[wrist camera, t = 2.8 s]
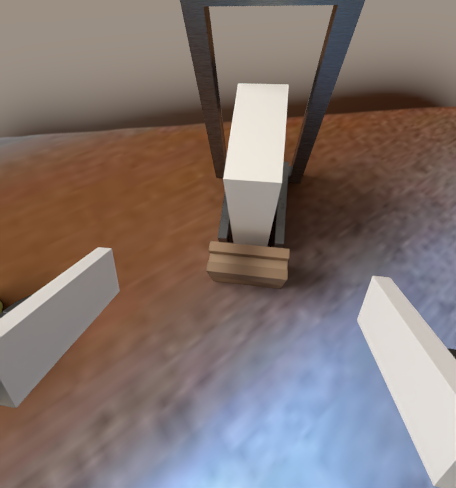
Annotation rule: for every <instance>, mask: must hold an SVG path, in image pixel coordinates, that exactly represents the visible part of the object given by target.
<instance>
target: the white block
mask: <svg viewBox="0 0 456 488" xmlns="http://www.w3.org/2000/svg"><path fill="white" fill-rule="evenodd" d="M288 87H289V85H286V84H285V85H284V84H244V83H243V84H242V83H239V84H238V88H237V94H236V101H235V107H234V114H233V120H232V126H231V132H230V139H229V145H228V151H227V158H226V164H225V170H224V177H223V181H224V187H225V193H226V200H227V206H228V212H229V218H230V224H231V230H232V237H233V243H234V244H244V245H255V246H265V247H267V245H268V241H269V237H270V232H271V228H272V224H273V219H274V215H275V211H276V206H277V202H278V198H279V193H280V189H281V185H282V174H283V160H284V145H285V131H286V116H287V102H288Z"/></svg>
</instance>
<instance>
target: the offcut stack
mask: <svg viewBox="0 0 456 488" xmlns="http://www.w3.org/2000/svg"><path fill="white" fill-rule="evenodd" d="M209 252H210V257H209V261H208V264H207V270H206V271H207V272H208V274H209V275H210V277H211V278H212V280H213V281H218V282H227V283H235V284H244V285H252V286H261V287H270V288H278V289H280V288H281V287H282V286H283V285H284V283H285V282H286V281H287V276H288V270H287V263H288V260H289V252H290V249H285V248H275V247H265V246H255V245H244V244H234V243H224V242H214V241H210V246H209Z"/></svg>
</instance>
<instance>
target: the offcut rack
mask: <svg viewBox="0 0 456 488" xmlns="http://www.w3.org/2000/svg"><path fill="white" fill-rule="evenodd" d="M364 1H365V0H180V2H181V7H182V12H183V17H184V22H185V27H186V31H187V37H188V41H189V46H190V51H191V56H192V61H193V66H194V71H195V76H196V81H197V85H198V90H199V95H200V100H201V105H202V110H203V115H204V119H205V125H206V129H207V134H208V139H209V144H210V149H211V154H212V159H213V164H214V169H215V173H216V178H223V177H224V170H225V164H226V158H227V154H226V146H225V138H224V129H223V121H222V113H221V105H220V96H219V88H218V79H217V71H216V63H215V56H214V55H215V54H214V46H213V38H212V30H211V21H210V13H209V6H280V5H334V6H333V10H332V14H331V17H330V21H329V25H328V29H327V33H326V36H325V40H324V44H323V48H322V51H321V55H320V59H319V63H318V67H317V70H316V74H315V78H314V82H313V86H312V89H311V93H310V97H309V101H308V104H307V108H306V112H305V116H304V119H303V123H302V127H301V131H300V135H299V138H298V142H297V146H296V150H295V154H294V157H293V161H292V165H291V166H289V162H283V174H282V185H281V189H280V193H279V198H278V202H277V206H276V211H275V223H274V236H273V247H275V248H282V247H283V245H284V234H285V217H286V201H287V184H288V182H289V183H300V182H301V179H302V176H303V174H304V171H305V168H306V165H307V162H308V159H309V157H310V154H311V151H312V148H313V145H314V143H315V140H316V137H317V134H318V131H319V129H320V126H321V123H322V120H323V117H324V114H325V112H326V109H327V106H328V103H329V100H330V97H331V95H332V92H333V89H334V86H335V83H336V81H337V78H338V75H339V72H340V69H341V66H342V64H343V61H344V58H345V55H346V53H347V49H348V47H349V44H350V41H351V38H352V36H353V33H354V30H355V27H356V24H357V22H358V19H359V16H360V13H361V10H362V7H363V5H364ZM230 231H231V224H230V218H229V212H228V206H227V200H226V193H225V194H224V201H223V207H222V214H221V220H220V227H219V234H218V240H219V242H224V243H229V238H230Z"/></svg>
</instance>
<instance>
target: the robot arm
mask: <svg viewBox="0 0 456 488" xmlns="http://www.w3.org/2000/svg"><path fill="white" fill-rule="evenodd" d="M119 291H120V290H119V285H118V279H117V274H116V269H115V263H114V258H113V253H112V249H111V248H101V247H98V248H97V249H95V250H94V251H92V252H91V253H90V254H88V255H87V256H86V257H84V258H83V259H81V260H80V261H79V262H77V263H76V264H74V265H73V266H72V267H70V268H69V269H68V270H66V271H65V272H63V273H62V274H61V275H59V276H58V277H57V278H55V279H54V280H52V281H51V282H50V283H48V284H47V285H46V286H44V287H43V288H41V289H40V290H39V291H37V292H36V293H35V294H33V295H30V296H28V297H26V298H23V299H21V300H19V301H17V302H15V303H14V304H12V305H11V306H9V307H8V308H7V309H5V310H4V311H3V313H0V405H3V406H8V407H14V408H17V406H18V405H19V404H20V403H21V402H22V401H23V400H24V399H25V397H26V396H27V395H28V394H29V393H30V392H31V391H32V390H33V388H34V387H35V386H36V385H37V384H38V383H39V382H40V381H41V379H42V378H43V377H44V376H45V375H46V374H47V373H48V371H49V370H50V369H51V368H52V367H53V366H54V365H55V364H56V362H57V361H58V360H59V359H60V358H61V357H62V356H63V355H64V353H65V352H66V351H67V350H68V349H69V348H70V347H71V345H72V344H73V343H74V342H75V341H76V340H77V339H78V338H79V336H80V335H81V334H82V333H83V332H84V331H85V330H86V329H87V327H88V326H89V325H90V324H91V323H92V322H93V321H94V320H95V318H96V317H97V316H98V315H99V314H100V313H101V312H102V310H103V309H104V308H105V307H106V306H107V305H108V304H109V303H110V301H111V300H112V299H113V298H114V297H115V296H116V295H117V294H118V292H119ZM357 321H358V323H359V326H360V328H361V330H362V332H363V334H364V336H365V339H366V341H367V343H368V345H369V347H370V349H371V352H372V354H373V356H374V358H375V360H376V362H377V365H378V367H379V369H380V371H381V373H382V375H383V378H384V380H385V382H386V384H387V386H388V388H389V391H390V393H391V395H392V397H393V399H394V401H395V404H396V406H397V408H398V410H399V412H400V414H401V417H402V419H403V421H404V423H405V425H406V427H407V430H408V432H409V434H410V436H411V438H412V440H413V443H414V445H415V447H416V449H417V451H418V454H419V456H420V458H421V460H422V462H423V464H424V467H425V469H426V471H427V473H428V475H429V477H430V480H431V482H432V484H433V486H435V487H440V488H456V350H454V349H447V348H446V347H445V345H444V344H443V343H442V342H441V340H440V339H439V338H438V337H437V335H436V334H435V333H434V332H433V330H432V329H431V328H430V327H429V325H428V324H427V323H426V322H425V321H424V319H423V318H422V317H421V316H420V314H419V313H418V312H417V311H416V309H415V308H414V307H413V306H412V304H411V303H410V302H409V301H408V299H407V298H406V297H405V296H404V294H403V293H402V292H401V291H400V289H399V288H398V287H397V286H396V284H395V283H394V282H393V281H392V280H391V278H390V277H380V276H372V279H371V282H370V285H369V288H368V291H367V293H366V296H365V299H364V302H363V305H362V308H361V311H360V313H359V316H358V319H357Z"/></svg>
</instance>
